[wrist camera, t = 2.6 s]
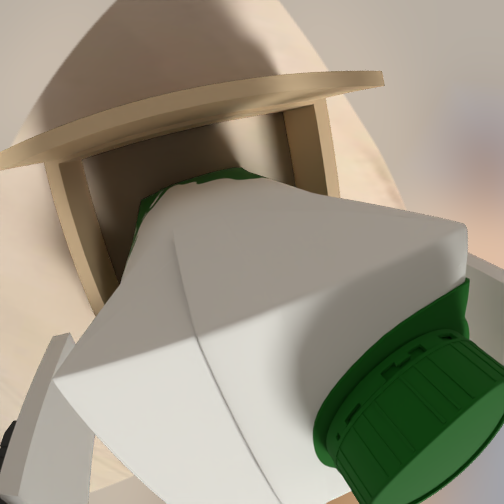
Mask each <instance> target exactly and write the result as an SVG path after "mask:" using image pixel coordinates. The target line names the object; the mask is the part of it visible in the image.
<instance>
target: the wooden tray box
mask: <svg viewBox="0 0 504 504" xmlns="http://www.w3.org/2000/svg"><path fill="white" fill-rule="evenodd" d="M380 86H384V80H383V75H382V71H331V72H310V73H296V74H284V75H274V76H265V77H257V78H249V79H242V80H235V81H229V82H222V83H217V84H211V85H205V86H200V87H195V88H190V89H185V90H181V91H176V92H172V93H167V94H163V95H159V96H155V97H151V98H147V99H143V100H139V101H136V102H132V103H128V104H125V105H122V106H118V107H115V108H112V109H108V110H105V111H102V112H99V113H96V114H93V115H90V116H87V117H84V118H81V119H78V120H75V121H73V122H70V123H67V124H64V125H62V126H59V127H57V128H54V129H52V130H49V131H47V132H44V133H42V134H39V135H37V136H34V137H32V138H30V139H28V140H25V141H23V142H21V143H19V144H16V145H14V146H12V147H10V148H8V149H6V150H4V151H2V152H0V171H1V170H6V169H10V168H15V167H21V166H26V165H31V164H37V163H43V162H44V165H45V169H46V173H47V177H48V181H49V185H50V189H51V193H52V196H53V200H54V203H55V207H56V210H57V214H58V217H59V220H60V223H61V227H62V230H63V233H64V236H65V239H66V242H67V245H68V248H69V251H70V253H71V256H72V259H73V262H74V265H75V267H76V270H77V273H78V275H79V278H80V280H81V283H82V285H83V288H84V290H85V293H86V295H87V298H88V300H89V303H90V305H91V307H92V310H93V312H94V314H95V316H97V315H98V313H99V312H100V311H101V309H102V308H103V306H104V305H105V304H106V302H107V301H108V300H109V298H110V297H111V296H112V295H113V293H114V292H115V291H116V289H117V288H118V287H119V283H118V280H117V277H116V274H115V272H114V269H113V266H112V263H111V260H110V257H109V254H108V251H107V248H106V245H105V242H104V239H103V236H102V233H101V230H100V226H99V223H98V220H97V216H96V213H95V210H94V206H93V202H92V199H91V195H90V192H89V188H88V184H87V180H86V176H85V172H84V168H83V164H82V159H85V158H87V157H90V156H93V155H97V154H100V153H103V152H106V151H109V150H112V149H116V148H119V147H122V146H126V145H129V144H132V143H136V142H140V141H143V140H147V139H150V138H154V137H158V136H162V135H166V134H170V133H174V132H178V131H182V130H187V129H191V128H195V127H200V126H205V125H209V124H214V123H219V122H224V121H229V120H235V119H240V118H246V117H252V116H258V115H264V114H270V113H277V112H283V115H284V121H285V126H286V132H287V137H288V143H289V149H290V154H291V160H292V166H293V172H294V178H295V185H296V188H299V189H302V190H305V191H308V192H311V193H315V194H320V195H325V196H331V197H336V198H340V191H339V183H338V175H337V167H336V160H335V153H334V146H333V140H332V133H331V127H330V121H329V115H328V109H327V104H326V98H327V97H331V96H336V95H340V94H345V93H349V92H354V91H359V90H364V89H369V88H375V87H380Z"/></svg>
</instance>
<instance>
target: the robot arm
mask: <svg viewBox="0 0 504 504" xmlns="http://www.w3.org/2000/svg"><path fill="white" fill-rule="evenodd" d="M465 277H466V278H469V279H470V286H469V295H468V302H467V308H466V313H465V318H466V320H467V322H468V326H469V334H470V336H469V340H471V341H473V342H474V343H475V344H476V345H477V346H478V347H479V348H481V349H482V350H483V351H485V352H486V353H487V354H489V355H490V356H491V357H493V358H494V359H495V360H496V361H498V362H499V363H500V364H502V365H503V366H504V270H503V269H501V268H499V267H497V266H495V265H493V264H491V263H489V262H487V261H485V260H483V259H481V258H478V257H477V256H474V255H472V254H470V253H467V264H466V274H465ZM75 345H76V344H75V342H74V340H73V338H72V336H71V334H70V333H66V334H62V335H58V336H53V337H52V339H51V341H50V343H49V345H48V347H47V350H46V352H45V354H44V356H43V358H42V360H41V363H40V365H39V367H38V369H37V372H36V374H35V376H34V379H33V381H32V383H31V386H30V388H29V391H28V393H27V396H26V398H25V401H24V403H23V406H22V408H21V411H20V414H19V416H18V419H17V421H13V422H12V424H11V425H10V426H9V428H8V429H7V430H6V432H5V433H4V436H3V439H2V442H1V445H0V446H1V448H0V504H88V503H89V487H90V475H91V464H92V455H93V446H94V438H95V434H94V432H93V431H92V430H91V429H90V428H89V427H88V426H87V424H86V423H85V422H84V421H83V420H82V418H81V417H80V416H79V415H78V414H77V412H76V411H75V410H74V409H73V407H72V406H71V405H70V404H69V402H68V401H67V400H66V398H65V397H64V396H63V394H62V393H61V392H60V390H59V389H58V388H57V386H56V385H55V383H54V382H53V380H52V378H53V376H54V375H55V374H56V372H57V371H58V369H59V368H60V366H61V365H62V364H63V362H64V361H65V359H66V358H67V356H68V355H69V354H70V352H71V351H72V349H73V348H74V347H75Z"/></svg>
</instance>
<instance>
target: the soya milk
mask: <svg viewBox="0 0 504 504" xmlns="http://www.w3.org/2000/svg"><path fill="white" fill-rule="evenodd" d="M467 232H468V231H467V227H466V225H465V224H463V223H460V222H456V221H451V220H447V219H443V218H439V217H434V216H429V215H424V214H420V213H415V212H410V211H405V210H400V209H395V208H390V207H385V206H380V205H375V204H369V203H364V202H359V201H353V200H348V199H342V198H336V197H331V196H325V195H320V194H315V193H311V192H308V191H305V190H302V189H299V188H296V187H293V186H290V185H287V184H284V183H281V182H278V181H275V180H272V179H269V178H266V177H263V176H260V175H257V174H253V173H250V172H248V171H246V170H245V169H243V168H242V167H241V168H229V169H223V170H220V171H216V172H212V173H208V174H205V175H201V176H198V177H195V178H191V179H188V180H185V181H182V182H179V183H176V184H173V185H171V186H168V187H166V188H164V189H162V190H160V191H158V192H157V193H155V194H153V195H151V196H149V197H147V198H145V199H143V200H141V203H140V208H139V213H138V217H137V222H136V227H135V232H134V237H133V243H132V246H131V249H130V252H129V256H128V259H127V262H126V266H125V269H124V273H123V276H122V280H121V283H120V285H119V287H118V288H117V289H116V291H115V292H114V293H113V295H112V296H111V297H110V298H109V300H108V301H107V302H106V304H105V305H104V306H103V308H102V309H101V311H100V312H99V313H98V315H97V316H96V317H95V319H94V320H93V321H92V323H91V324H90V325H89V327H88V328H87V330H86V331H85V332H84V334H83V335H82V337H81V338H80V339H79V341H78V342H77V344H76V345H75V347H74V348H73V349H72V351H71V352H70V354H69V355H68V356H67V358H66V359H65V361H64V362H63V364H62V365H61V366H60V368H59V369H58V371H57V372H56V374H55V375H54V376H53V378H52V380H53V382H54V383H55V385H56V386H57V388H58V389H59V390H60V392H61V393H62V394H63V396H64V397H65V398H66V400H67V401H68V402H69V404H70V405H71V406H72V407H73V409H74V410H75V411H76V412H77V414H78V415H79V416H80V417H81V418H82V420H83V421H84V422H85V423H86V424H87V426H88V427H89V428H90V429H91V430H92V431H93V432H94V434H95V435H96V436H97V437H98V438H99V439H100V440H101V441H102V442H103V444H104V445H105V446H106V447H107V448H108V449H109V450H110V451H111V452H112V453H113V454H114V455H115V456H116V457H117V458H118V459H119V460H120V461H121V462H122V463H123V464H124V465H125V466H126V467H127V468H128V469H129V470H130V471H131V472H132V473H133V474H134V475H135V476H136V477H137V478H138V479H139V480H140V481H141V482H143V483H144V484H145V485H146V486H147V487H148V488H149V489H150V490H151V491H153V492H154V493H155V494H156V495H157V496H158V497H160V498H161V499H162V500H163V501H164V502H166V503H167V504H326V503H327V502H329V501H331V500H333V499H335V498H337V497H340V496H341V495H343V494H346V493H348V492H350V491H352V492H353V494H354V496H355V497H356V499H357V500H358V502H359V504H419V503H421V502H423V501H424V500H426V499H427V498H429V497H431V496H432V495H434V494H435V493H436V492H438V491H439V490H441V489H442V488H443V487H445V486H446V485H447V484H448V483H450V482H451V481H452V480H453V479H455V478H456V477H457V476H458V475H459V474H460V473H462V472H463V471H464V470H465V469H466V468H467V467H468V466H469V465H470V464H471V463H472V462H473V461H474V460H475V459H476V458H477V457H478V456H479V455H480V454H481V453H482V451H483V450H484V449H485V448H486V447H487V445H488V444H489V443H490V442H491V441H492V439H493V438H494V437H495V435H496V434H497V433H498V431H499V430H500V428H501V427H502V425H503V424H504V366H503V365H502V364H500V363H499V362H498V361H496V360H495V359H494V358H493V357H491V356H490V355H489V354H487V353H486V352H485V351H483V350H482V349H481V348H479V347H478V346H477V345H476V344H475V343H474V342H473V341H471V340H469V336H470V334H469V326H468V322H467V320H466V318H465V313H466V308H467V302H468V295H469V286H470V279H469V278H466V277H465V274H466V264H467V253H468V233H467Z"/></svg>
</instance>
